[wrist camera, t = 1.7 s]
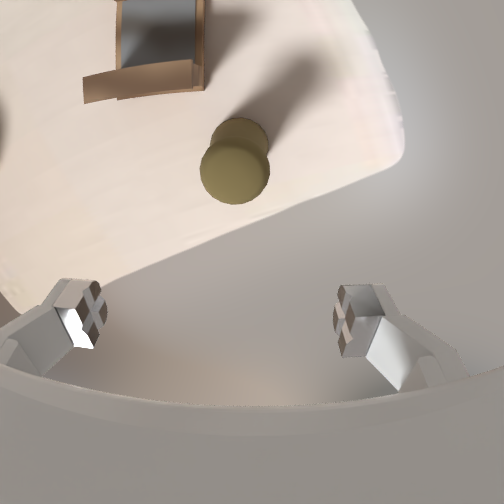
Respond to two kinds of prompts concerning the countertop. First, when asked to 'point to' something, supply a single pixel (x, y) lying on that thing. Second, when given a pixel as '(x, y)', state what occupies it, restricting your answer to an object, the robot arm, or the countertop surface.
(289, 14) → the countertop surface
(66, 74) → the countertop surface
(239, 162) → the olive green bulbous cylinder
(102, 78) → the holder
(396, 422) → the robot arm
